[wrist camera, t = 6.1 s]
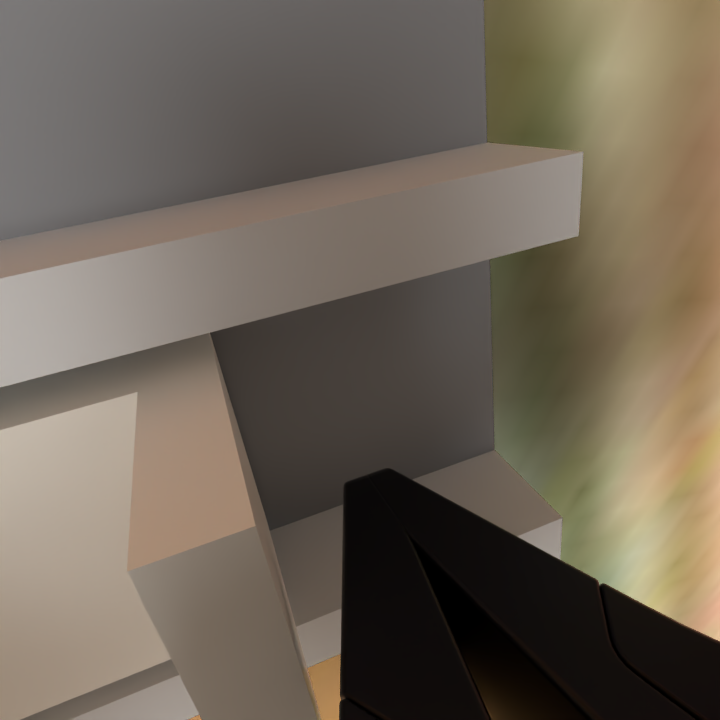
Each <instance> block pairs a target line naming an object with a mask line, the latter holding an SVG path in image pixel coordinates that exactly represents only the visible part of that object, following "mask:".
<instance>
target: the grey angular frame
mask: <svg viewBox="0 0 720 720" xmlns="http://www.w3.org/2000/svg"><path fill="white" fill-rule="evenodd" d="M582 170H583V152H582V151H572V150H561V149H551V148H540V147H530V146H519V145H508V144H498V143H487V116H486V74H485V32H484V0H0V387H4V386H8V385H12V384H16V383H19V382H23V381H27V380H31V379H35V378H38V377H42V376H46V375H50V374H54V373H58V372H61V371H65V370H69V369H73V368H77V367H80V366H84V365H88V364H92V363H96V362H100V361H103V360H107V359H111V358H115V357H119V356H122V355H126V354H130V353H134V352H138V351H141V350H145V349H149V348H153V347H157V346H161V345H164V344H168V343H172V342H176V341H180V340H183V339H187V338H191V337H195V336H199V335H203V334H206V333H210V335H211V338H212V341H213V345H214V348H215V351H216V355H217V358H218V361H219V364H220V368H221V371H222V374H223V378H224V381H225V384H226V387H227V391H228V394H229V397H230V401H231V404H232V407H233V411H234V414H235V417H236V420H237V424H238V427H239V430H240V434H241V437H242V440H243V443H244V447H245V450H246V453H247V457H248V460H249V463H250V467H251V470H252V473H253V476H254V480H255V483H256V486H257V490H258V493H259V496H260V499H261V503H262V506H263V509H264V513H265V516H266V519H267V523H268V527H269V530H270V534H271V537H272V541H273V545H274V548H275V552H276V556H277V559H278V563H279V567H280V570H281V574H282V578H283V581H284V585H285V588H286V592H287V596H288V599H289V603H290V607H291V610H292V614H293V618H294V621H295V625H296V629H297V632H298V636H299V639H300V643H301V647H302V650H303V654H304V658H305V661H306V665H307V668H309V667H311V666H313V665H315V664H318V663H320V662H322V661H325V660H327V659H329V658H332V657H334V656H336V655H339V654H341V602H342V537H343V486H344V483H345V482H347V481H350V480H352V479H355V478H358V477H361V476H364V475H367V474H370V473H373V472H376V471H378V470H381V469H384V468H391V469H394V470H395V471H397V472H399V473H401V474H403V475H405V476H406V477H408V478H410V479H412V480H414V481H416V482H418V483H419V484H421V485H423V486H425V487H427V488H429V489H431V490H432V491H434V492H436V493H438V494H440V495H442V496H443V497H445V498H447V499H449V500H451V501H453V502H455V503H456V504H458V505H460V506H462V507H464V508H466V509H467V510H469V511H471V512H473V513H475V514H477V515H479V516H480V517H482V518H484V519H486V520H488V521H490V522H492V523H493V524H495V525H497V526H499V527H501V528H503V529H504V530H506V531H508V532H510V533H512V534H514V535H516V536H517V537H519V538H521V539H523V540H525V541H527V542H528V543H530V544H532V545H534V546H536V547H538V548H540V549H541V550H543V551H545V552H547V553H549V554H551V555H552V556H554V557H556V558H558V559H560V554H561V536H562V519H563V518H562V517H561V516H560V515H559V514H558V513H557V512H556V511H555V510H554V509H553V508H552V507H551V506H550V505H549V504H548V503H547V502H546V501H545V500H544V499H543V498H542V497H541V496H540V495H539V494H538V493H537V492H536V491H535V490H534V489H533V488H532V487H531V486H530V485H529V484H528V483H527V482H526V481H525V480H524V479H523V478H522V477H521V476H520V475H519V474H518V473H517V472H516V471H515V470H514V469H513V468H512V467H511V466H510V465H509V464H508V463H507V462H506V461H505V460H504V459H503V458H502V457H501V456H500V455H499V454H498V453H497V452H496V451H495V450H494V411H493V369H492V327H491V285H490V259H493V258H496V257H500V256H504V255H508V254H512V253H516V252H519V251H523V250H527V249H531V248H535V247H538V246H542V245H546V244H550V243H554V242H558V241H561V240H565V239H569V238H573V237H577V236H579V222H580V205H581V187H582ZM197 715H199V713H198V711H197V709H196V707H195V705H194V703H193V701H192V699H191V697H190V695H189V693H188V691H187V689H186V687H185V685H184V683H183V681H182V679H181V677H180V675H179V673H178V671H177V669H176V668H175V666H174V664H173V662H172V660H171V659H170V660H167V661H165V662H162V663H160V664H157V665H155V666H153V667H150V668H148V669H145V670H143V671H140V672H138V673H135V674H133V675H130V676H128V677H125V678H123V679H120V680H118V681H115V682H113V683H110V684H108V685H105V686H103V687H100V688H98V689H95V690H93V691H90V692H88V693H85V694H83V695H80V696H78V697H75V698H73V699H70V700H68V701H65V702H63V703H60V704H58V705H55V706H53V707H50V708H48V709H45V710H43V711H40V712H38V713H35V714H33V715H30V716H28V717H25V718H23V719H20V720H188V719H190V718H192V717H195V716H197Z"/></svg>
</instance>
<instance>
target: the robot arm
mask: <svg viewBox="0 0 720 720" xmlns="http://www.w3.org/2000/svg"><path fill="white" fill-rule="evenodd" d="M340 697H341V701H340V705H339V720H720V641H718V640H715V639H713V638H711V637H709V636H707V635H705V634H702V633H700V632H698V631H696V630H694V629H692V628H690V627H687V626H685V625H683V624H681V623H679V622H677V621H675V620H673V619H671V618H669V617H667V616H666V615H664V614H662V613H660V612H658V611H656V610H654V609H652V608H650V607H648V606H646V605H644V604H642V603H640V602H638V601H636V600H634V599H632V598H631V597H629V596H627V595H625V594H623V593H621V592H620V591H618V590H616V589H614V588H612V587H610V586H608V585H607V584H604V583H602V584H601V585H600V586H599V582H598V580H597V579H595V578H593V577H591V576H589V575H588V574H586V573H584V572H582V571H580V570H578V569H577V568H575V567H573V566H571V565H569V564H567V563H565V562H564V561H562V560H560V559H558V558H556V557H554V556H552V555H551V554H549V553H547V552H545V551H543V550H541V549H540V548H538V547H536V546H534V545H532V544H530V543H528V542H527V541H525V540H523V539H521V538H519V537H517V536H516V535H514V534H512V533H510V532H508V531H506V530H504V529H503V528H501V527H499V526H497V525H495V524H493V523H492V522H490V521H488V520H486V519H484V518H482V517H480V516H479V515H477V514H475V513H473V512H471V511H469V510H467V509H466V508H464V507H462V506H460V505H458V504H456V503H455V502H453V501H451V500H449V499H447V498H445V497H443V496H442V495H440V494H438V493H436V492H434V491H432V490H431V489H429V488H427V487H425V486H423V485H421V484H419V483H418V482H416V481H414V480H412V479H410V478H408V477H406V476H405V475H403V474H401V473H399V472H397V471H395V470H394V469H391V468H384V469H381V470H378V471H376V472H373V473H370V474H367V475H364V476H361V477H358V478H355V479H352V480H350V481H347V482H345V483H344V486H343V537H342V602H341V667H340Z"/></svg>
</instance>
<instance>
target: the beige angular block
mask: <svg viewBox="0 0 720 720" xmlns="http://www.w3.org/2000/svg"><path fill="white" fill-rule="evenodd" d="M170 659H171V660H172V662H173V664H174V666H175V668H176V669H177V671H178V673H179V675H180V677H181V679H182V681H183V683H184V685H185V687H186V689H187V691H188V693H189V695H190V697H191V699H192V701H193V703H194V705H195V707H196V709H197V711H198V713H199V715H200V717H201V719H202V720H321V716H320V712H319V709H318V705H317V701H316V698H315V694H314V690H313V687H312V683H311V680H310V676H309V672H308V669H307V665H306V661H305V658H304V654H303V650H302V647H301V643H300V639H299V636H298V632H297V629H296V625H295V621H294V618H293V614H292V610H291V607H290V603H289V599H288V596H287V592H286V588H285V585H284V581H283V578H282V574H281V570H280V567H279V563H278V559H277V556H276V552H275V548H274V545H273V541H272V537H271V534H270V530H269V527H268V523H267V519H266V516H265V513H264V509H263V506H262V503H261V499H260V496H259V493H258V490H257V486H256V483H255V480H254V476H253V473H252V470H251V467H250V463H249V460H248V457H247V453H246V450H245V447H244V443H243V440H242V437H241V434H240V430H239V427H238V424H237V420H236V417H235V414H234V411H233V407H232V404H231V401H230V397H229V394H228V391H227V387H226V384H225V381H224V378H223V374H222V371H221V368H220V364H219V361H218V358H217V355H216V351H215V348H214V345H213V341H212V338H211V335H210V333H206V334H203V335H199V336H195V337H191V338H187V339H183V340H180V341H176V342H172V343H168V344H164V345H161V346H157V347H153V348H149V349H145V350H141V351H138V352H134V353H130V354H126V355H122V356H119V357H115V358H111V359H107V360H103V361H100V362H96V363H92V364H88V365H84V366H80V367H77V368H73V369H69V370H65V371H61V372H58V373H54V374H50V375H46V376H42V377H38V378H35V379H31V380H27V381H23V382H19V383H16V384H12V385H8V386H4V387H0V720H20V719H23V718H25V717H28V716H30V715H33V714H35V713H38V712H40V711H43V710H45V709H48V708H50V707H53V706H55V705H58V704H60V703H63V702H65V701H68V700H70V699H73V698H75V697H78V696H80V695H83V694H85V693H88V692H90V691H93V690H95V689H98V688H100V687H103V686H105V685H108V684H110V683H113V682H115V681H118V680H120V679H123V678H125V677H128V676H130V675H133V674H135V673H138V672H140V671H143V670H145V669H148V668H150V667H153V666H155V665H157V664H160V663H162V662H165V661H167V660H170Z"/></svg>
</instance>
